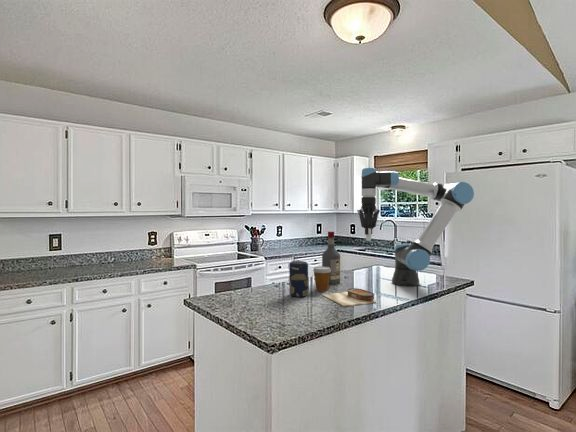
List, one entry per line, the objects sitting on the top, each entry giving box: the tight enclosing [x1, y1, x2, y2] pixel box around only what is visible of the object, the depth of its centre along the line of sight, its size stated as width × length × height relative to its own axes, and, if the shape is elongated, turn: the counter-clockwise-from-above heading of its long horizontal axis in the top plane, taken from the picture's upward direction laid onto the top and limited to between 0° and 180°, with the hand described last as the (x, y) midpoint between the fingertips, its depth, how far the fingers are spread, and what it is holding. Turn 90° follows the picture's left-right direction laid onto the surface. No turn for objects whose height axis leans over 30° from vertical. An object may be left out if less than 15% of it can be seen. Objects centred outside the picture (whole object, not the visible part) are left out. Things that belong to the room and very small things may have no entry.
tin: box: [347, 287, 375, 301], centre depth 171 cm, size 15×3×8 cm
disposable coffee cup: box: [312, 265, 331, 292], centre depth 188 cm, size 10×10×12 cm
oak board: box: [322, 291, 377, 308], centre depth 169 cm, size 17×21×1 cm
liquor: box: [321, 231, 341, 285], centre depth 205 cm, size 9×9×30 cm
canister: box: [288, 259, 309, 298], centre depth 176 cm, size 10×10×18 cm
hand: (368, 240), depth 188 cm, fingers closed
